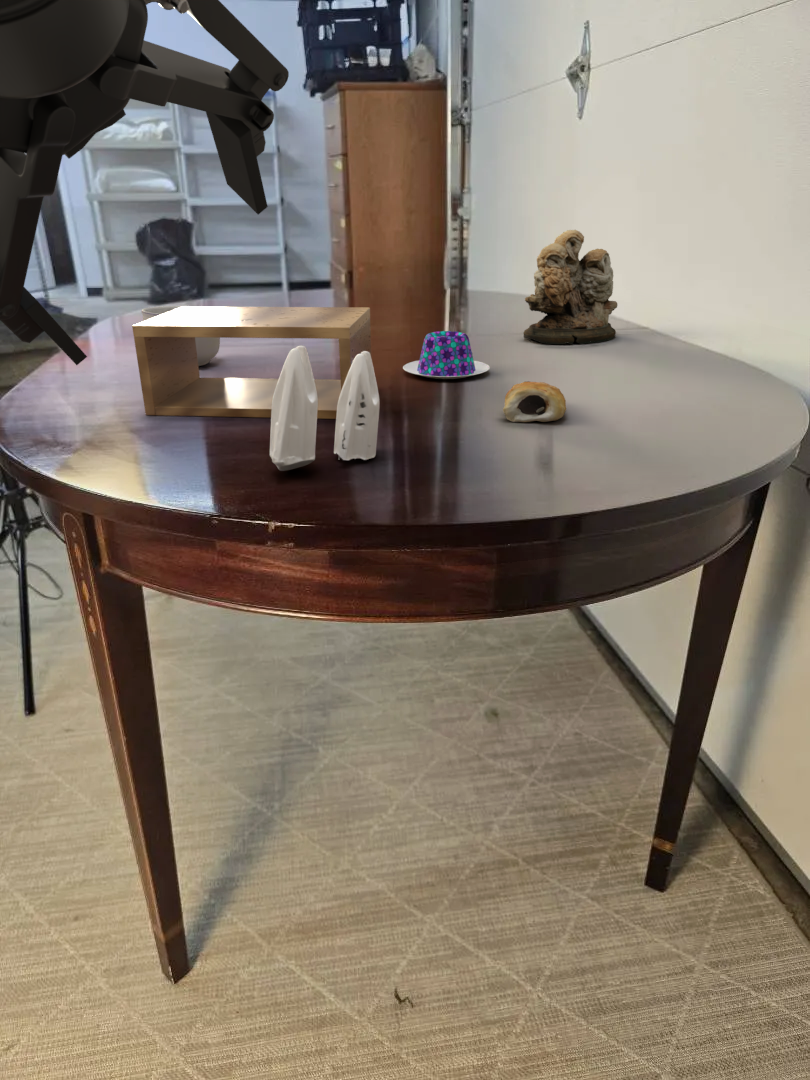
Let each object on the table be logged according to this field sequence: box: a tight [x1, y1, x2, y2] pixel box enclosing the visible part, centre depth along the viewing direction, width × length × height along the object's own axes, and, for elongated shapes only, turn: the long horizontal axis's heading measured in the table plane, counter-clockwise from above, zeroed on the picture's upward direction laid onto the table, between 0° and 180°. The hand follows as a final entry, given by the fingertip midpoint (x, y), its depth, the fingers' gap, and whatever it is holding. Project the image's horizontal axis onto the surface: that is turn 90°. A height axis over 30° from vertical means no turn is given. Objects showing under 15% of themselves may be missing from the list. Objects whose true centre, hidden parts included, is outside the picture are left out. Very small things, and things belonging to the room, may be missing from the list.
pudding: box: [402, 330, 491, 380], centre depth 106 cm, size 12×12×5 cm
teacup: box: [141, 305, 221, 367], centre depth 111 cm, size 14×11×8 cm
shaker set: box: [269, 345, 381, 472], centre depth 69 cm, size 12×4×11 cm, turn 126°
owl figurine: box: [523, 229, 618, 345], centre depth 127 cm, size 18×12×17 cm, turn 120°
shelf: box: [131, 305, 372, 420], centre depth 92 cm, size 24×15×10 cm, turn 84°
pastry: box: [502, 380, 567, 423], centre depth 87 cm, size 9×7×4 cm
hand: (159, 268), depth 44 cm, fingers open, 13 cm apart
